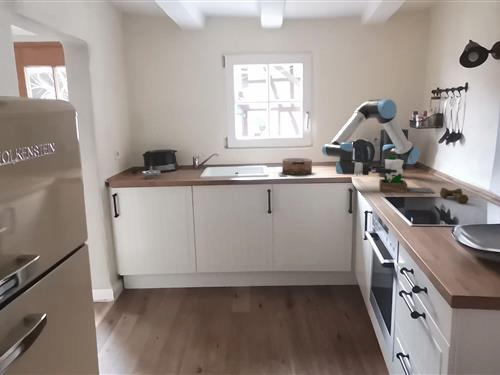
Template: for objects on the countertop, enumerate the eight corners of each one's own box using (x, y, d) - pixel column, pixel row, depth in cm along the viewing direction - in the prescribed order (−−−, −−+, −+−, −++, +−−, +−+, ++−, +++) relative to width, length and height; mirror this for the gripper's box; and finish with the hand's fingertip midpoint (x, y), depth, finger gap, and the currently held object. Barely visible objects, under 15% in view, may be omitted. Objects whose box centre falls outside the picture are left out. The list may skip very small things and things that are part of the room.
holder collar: (379, 186, 239) (379, 178, 238) (403, 187, 235) (404, 179, 234) (380, 191, 225) (380, 183, 224) (406, 192, 221) (407, 184, 220)
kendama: (453, 205, 194) (436, 195, 213) (472, 205, 193) (454, 196, 213) (454, 193, 192) (437, 185, 212) (474, 194, 192) (455, 185, 211)
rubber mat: (407, 188, 234) (407, 187, 234) (430, 189, 230) (430, 188, 230) (409, 192, 222) (409, 191, 221) (434, 193, 218) (434, 192, 218)
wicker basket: (313, 176, 281) (314, 161, 279) (283, 176, 282) (283, 161, 280) (309, 170, 311) (309, 157, 309) (281, 170, 311) (281, 157, 309)
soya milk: (394, 187, 236) (396, 155, 232) (403, 190, 227) (405, 156, 223) (381, 188, 233) (383, 155, 229) (390, 191, 225) (392, 157, 221)
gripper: (361, 172, 244) (399, 173, 238) (361, 177, 223) (403, 179, 217) (362, 160, 242) (400, 161, 236) (362, 165, 222) (404, 166, 216)
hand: (401, 170), depth 227 cm, fingers closed on soya milk, 9 cm apart
